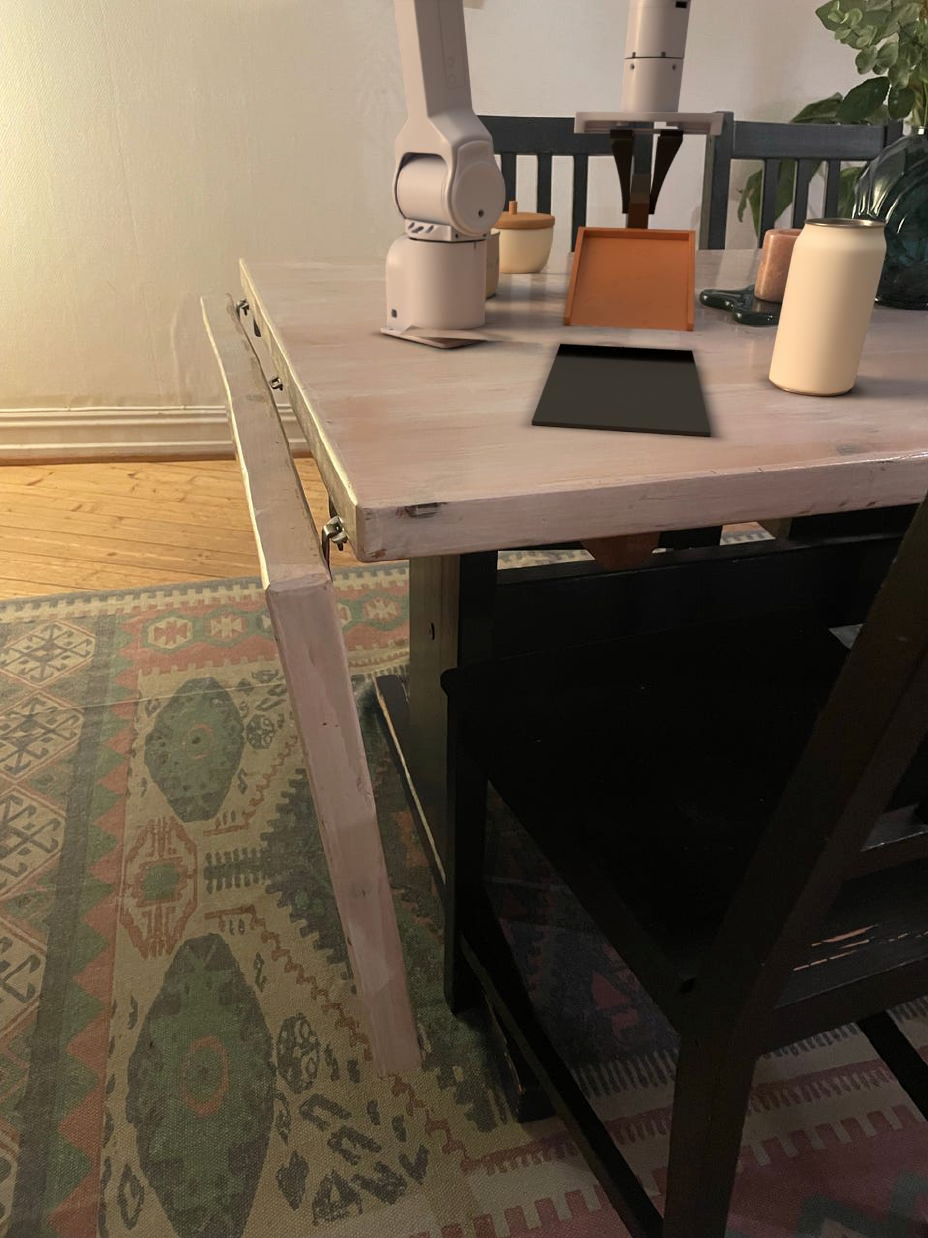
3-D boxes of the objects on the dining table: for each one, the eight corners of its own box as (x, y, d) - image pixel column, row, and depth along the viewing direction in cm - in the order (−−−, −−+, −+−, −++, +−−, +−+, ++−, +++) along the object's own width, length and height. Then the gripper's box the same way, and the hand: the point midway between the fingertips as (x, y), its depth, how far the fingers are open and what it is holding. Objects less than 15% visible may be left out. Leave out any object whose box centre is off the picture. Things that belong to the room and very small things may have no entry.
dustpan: (563, 329, 82) (564, 290, 79) (583, 210, 95) (585, 172, 92) (691, 336, 80) (698, 296, 77) (694, 213, 93) (700, 175, 90)
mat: (531, 424, 59) (531, 420, 59) (561, 342, 81) (561, 339, 81) (710, 436, 57) (710, 432, 57) (691, 349, 80) (691, 346, 79)
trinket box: (565, 278, 115) (570, 200, 110) (526, 289, 107) (530, 206, 102) (496, 271, 120) (498, 196, 115) (454, 281, 112) (454, 201, 107)
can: (755, 375, 71) (784, 216, 65) (830, 375, 72) (865, 217, 66) (787, 397, 66) (821, 226, 60) (868, 396, 66) (910, 226, 60)
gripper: (727, 62, 86) (706, 211, 93) (581, 61, 88) (571, 208, 95) (733, 57, 80) (710, 217, 87) (577, 57, 82) (567, 213, 89)
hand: (638, 213), depth 91 cm, fingers closed on dustpan, 2 cm apart
